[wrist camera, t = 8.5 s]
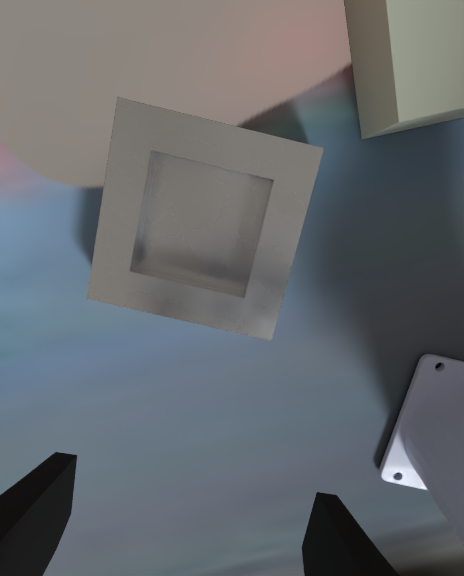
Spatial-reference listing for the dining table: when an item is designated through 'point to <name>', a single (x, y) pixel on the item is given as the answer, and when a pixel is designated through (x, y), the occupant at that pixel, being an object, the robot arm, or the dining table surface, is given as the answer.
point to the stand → (200, 219)
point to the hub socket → (406, 62)
